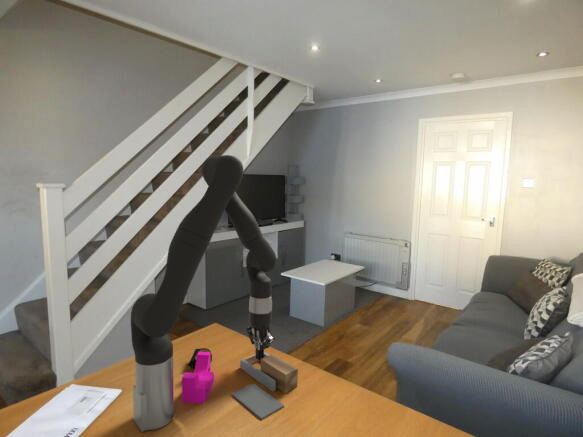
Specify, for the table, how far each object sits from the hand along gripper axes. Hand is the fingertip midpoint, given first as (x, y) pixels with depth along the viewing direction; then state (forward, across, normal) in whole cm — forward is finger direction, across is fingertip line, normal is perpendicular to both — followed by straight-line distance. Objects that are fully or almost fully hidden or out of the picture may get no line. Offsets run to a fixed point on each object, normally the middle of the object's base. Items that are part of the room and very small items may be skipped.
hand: (259, 358), depth 115 cm
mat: (+4, +13, -11) cm, 17 cm away
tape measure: (+3, -18, -14) cm, 23 cm away
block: (+4, +10, 0) cm, 10 cm away
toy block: (+4, -3, -20) cm, 20 cm away
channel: (+4, +4, 0) cm, 5 cm away
